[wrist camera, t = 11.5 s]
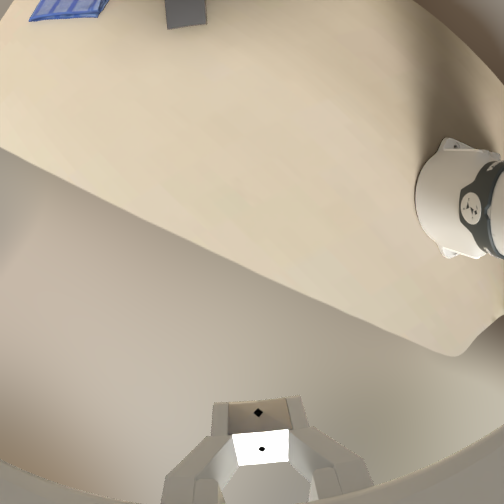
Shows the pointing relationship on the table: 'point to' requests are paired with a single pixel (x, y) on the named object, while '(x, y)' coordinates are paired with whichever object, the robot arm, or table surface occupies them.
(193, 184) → the table surface
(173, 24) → the domino
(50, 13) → the dish towel
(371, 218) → the table surface
